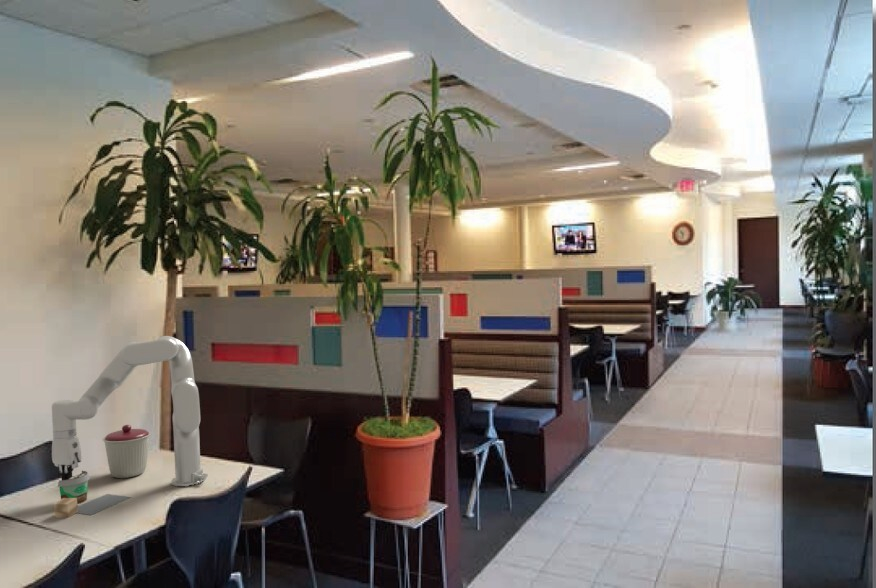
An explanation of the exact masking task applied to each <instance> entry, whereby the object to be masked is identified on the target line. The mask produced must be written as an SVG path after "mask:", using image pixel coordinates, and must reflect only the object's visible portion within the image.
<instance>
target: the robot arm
mask: <svg viewBox="0 0 876 588" xmlns="http://www.w3.org/2000/svg"><path fill="white" fill-rule="evenodd" d="M165 361H166V362H167V361H168V362H169V363H168V364H169V371H170V377H171V378H170V380H171V382H170V383H171V389H170V391H171V398H172V405H173V406H172V407H173V408H172V409H173V413H172V427H173V428H172V429H173V447H174V448H173V451H174V474H175V476H174V477H175V478H173V479H172V480H171V481H170V482H171V483H170V484H171V485H172V486H173V485H174V487H177V486H185V487H190V486H189V485H192V486H195V485H194V484H196V485H199V484H201V483H203V482H204V481H205V480H207V477H208V473H204V472H203V471H204V470H203V469H202V468H201V449H200V448H201V446H200V441H201V440H200V428H199V427H200V423H201V407H200V405H201V404H200V393H199V387H198V386H197V384H196V382H195V380H196V379H195V375H194V374H195V373H194V372H195V371H194V365H193V358H192V355H191V352H190V350H189V348H188V347H187V346H186V345H185V343H184V342H182V341H181V340H180V339H178V338H176V337H173V336H169V335H162V336H159V338H157V339H155V340H151V341H144V342H138V341H131V342H128V343H126V344H125V345H124V346H123V348H122V349H121V350H119V352H118V353H117V354H116V356H115V357H114V358H113V359H112V360H111V361H110V362H109V364H107V366H106V367H105V368H104V369H103V370H102V372H101V373H100V374H99V376H98V377H97V379H95V381H94V382H92V384H91V386H90V387H89V388H88V389H87V390H86V391H85V392H84V394H83V395H82V396H81V397H79V400H78V401H77V400H76V401H74V400H71V399H64V400H62V399H61V400H57V401H55V402H53V403H52V405H51V417H52V419H51V420H52V443H51V460H52V463H53V464H54V466H55V467H57V468H58V469H59V472H60V474H61V480H67V479H68V478H70V477H72V476H73V471H74V469H76V468H79V463H81V462H82V450H81V444H80V443H81V442H80V440H79V439H80V438H79V436H78V435H77V420H78V421H79V420H81V421H83V420H90V419H92V418H94V417H95V416H96V415H97V413H98V411H99V408H100V407H101V406H102V404H103V403H104V402H105V401H106V399H108V397H109V396H110V395H111V394H112V393H113V392H114V391H115V390H116V389H119V387H121V386H122V385H123V384H124V383H125V382H126V381H127V380H128V378H129V377H130V375H132V374H133V372H134V371H135V370H136V369H137V367H138V366H145V365H150V364H155V363H161V362H165ZM202 481H203V482H202ZM200 482H201V483H200ZM198 483H199V484H198Z"/></svg>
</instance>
